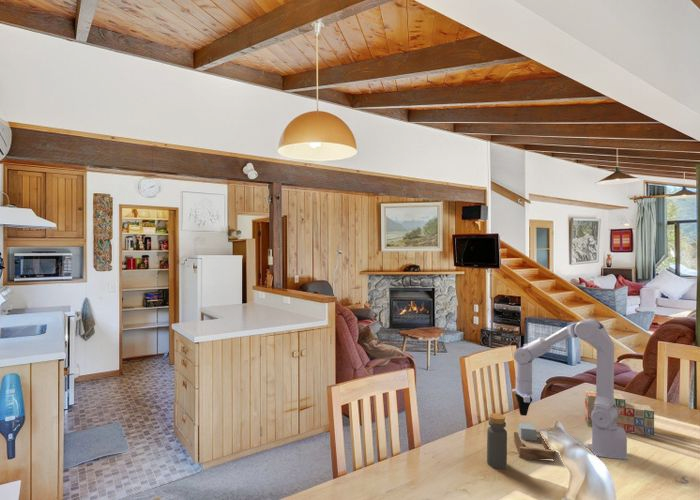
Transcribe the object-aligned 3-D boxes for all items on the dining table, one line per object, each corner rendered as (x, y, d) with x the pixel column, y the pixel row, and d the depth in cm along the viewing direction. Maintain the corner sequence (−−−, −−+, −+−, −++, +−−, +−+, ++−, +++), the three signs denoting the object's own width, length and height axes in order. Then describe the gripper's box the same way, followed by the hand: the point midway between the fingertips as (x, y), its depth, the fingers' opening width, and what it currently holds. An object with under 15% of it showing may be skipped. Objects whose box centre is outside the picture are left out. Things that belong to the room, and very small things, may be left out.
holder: (545, 444, 144) (545, 434, 144) (554, 461, 132) (555, 451, 132) (513, 440, 146) (514, 431, 146) (519, 457, 134) (520, 447, 134)
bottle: (497, 470, 126) (497, 421, 126) (482, 461, 131) (483, 414, 131) (510, 466, 129) (511, 417, 129) (496, 457, 134) (496, 411, 134)
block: (533, 435, 151) (533, 424, 151) (536, 441, 147) (536, 429, 147) (518, 433, 153) (518, 422, 153) (521, 439, 148) (521, 428, 148)
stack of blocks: (649, 430, 157) (649, 397, 157) (654, 436, 151) (654, 402, 151) (584, 420, 165) (585, 389, 165) (587, 426, 159) (587, 394, 159)
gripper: (509, 372, 165) (509, 406, 165) (515, 384, 151) (515, 421, 151) (528, 374, 164) (528, 408, 164) (536, 385, 150) (535, 423, 150)
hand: (523, 414), depth 157 cm, fingers closed
